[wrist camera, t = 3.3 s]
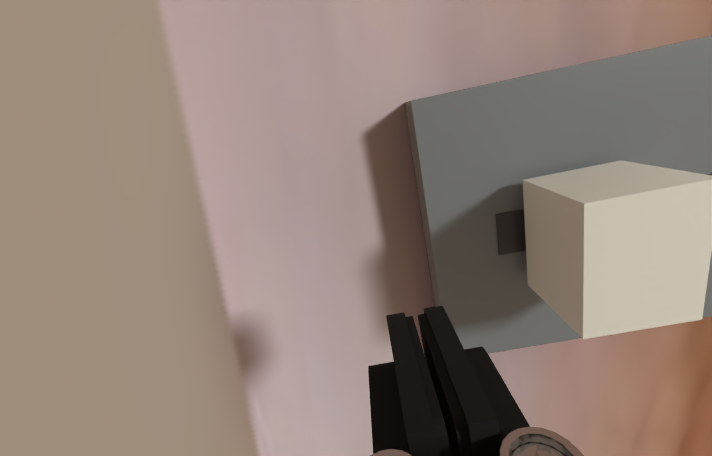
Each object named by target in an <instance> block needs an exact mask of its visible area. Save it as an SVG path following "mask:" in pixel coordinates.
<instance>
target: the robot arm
mask: <svg viewBox="0 0 712 456" xmlns="http://www.w3.org/2000/svg"><path fill="white" fill-rule="evenodd" d="M386 317H387V323H388V329H389V335H390V341H391V346H392V352H393V358H394V362H390V363H384V364H378V365H373V366H369V388H370V405H371V422H372V439H373V454H372V455H370V456H584V455H583V454H582V453H581V452H580V451H579V450H578V449H577V448H576V447H575V446H574V445H573V444H572V443H571V442H570V441H569V440H567V439H566V438H564V437H562V436H560V435H559V434H557V433H555V432H553V431H550V430H547V429H544V428H538V427H530V426H529V424H528V422H527V421H526V419H525V417H524V416H523V414H522V412H521V410H520V409H519V407H518V405H517V403H516V402H515V400H514V398H513V397H512V395H511V393H510V391H509V390H508V388H507V386H506V385H505V383H504V381H503V379H502V378H501V376H500V374H499V373H498V371H497V369H496V367H495V366H494V364H493V362H492V360H491V359H490V357H489V355H488V354H487V352H486V350H485V349H484V348H483V347H482V346H481V347H475V348H470V349H464V348H463V346H462V344H461V342H460V340H459V338H458V336H457V334H456V331H455V329H454V327H453V325H452V323H451V321H450V319H449V317H448V315H447V313H446V311H445V309H444V307H443V306H437V307H431V308H426V309H424V314H421V315H418V320H419V326H420V331H421V337H422V343H423V349H424V352H423V349H422V346H421V343H420V339H419V336H418V333H417V329H416V326H415V323H414V320H413V316H410V317H405V314H404V313H398V314H393V315H387V316H386ZM424 355H425V356H424Z"/></svg>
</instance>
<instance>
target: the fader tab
mask: <svg viewBox="0 0 712 456" xmlns="http://www.w3.org/2000/svg"><path fill="white" fill-rule="evenodd" d="M523 198H524V218H525V239H526V259H527V279H528V286H529V287H530V288H531V289H532V290H533V291H534V292H535V293H537V294H538V295H539V296H540V297H541V298H542V299H543V300H544V301H545V302H546V303H547V304H548V305H549V306H550V307H551V308H552V309H553V310H554V311H555V312H556V313H557V314H558V315H559V316H560V317H561V318H562V319H563V320H564V321H565V322H566V323H567V324H568V325H569V326H570V327H571V328H572V329H573V330H574V331H575V332H576V333H577V334H578V335H579V336H580V337H581V338H582V339H588V338H594V337H600V336H606V335H612V334H618V333H624V332H630V331H636V330H642V329H648V328H654V327H660V326H666V325H672V324H678V323H684V322H690V321H696V320H702V317H703V310H704V303H705V295H706V288H707V281H708V274H709V267H710V259H711V252H712V176H711V175H705V174H699V173H693V172H688V171H682V170H676V169H670V168H664V167H658V166H652V165H646V164H640V163H634V162H628V161H622V160H621V161H616V162H611V163H606V164H600V165H595V166H590V167H585V168H580V169H575V170H570V171H565V172H560V173H555V174H550V175H545V176H540V177H535V178H530V179H525V180H523Z"/></svg>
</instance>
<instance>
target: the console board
mask: <svg viewBox="0 0 712 456" xmlns="http://www.w3.org/2000/svg"><path fill="white" fill-rule="evenodd" d="M404 104H405V110H406V117H407V124H408V130H409V137H410V143H411V150H412V157H413V163H414V170H415V177H416V183H417V190H418V197H419V203H420V210H421V217H422V223H423V230H424V237H425V243H426V250H427V257H428V263H429V270H430V277H431V283H432V290H433V297H434V303H435V307H437V306H443V307H444V309H445V311H446V313H447V315H448V317H449V319H450V321H451V323H452V325H453V327H454V329H455V331H456V334H457V336H458V338H459V340H460V342H461V344H462V346H463V348H464V349H470V348H475V347H481V346H482V347H483V348H484V349H485V350H486V352H487V354H488V353H494V352H500V351H506V350H512V349H518V348H524V347H530V346H536V345H542V344H548V343H554V342H560V341H566V340H572V339H578V338H581V337H580V336H579V335H578V334H577V333H576V332H575V331H574V330H573V329H572V328H571V327H570V326H569V325H568V324H567V323H566V322H565V321H564V320H563V319H562V318H561V317H560V316H559V315H558V314H557V313H556V312H555V311H554V310H553V309H552V308H551V307H550V306H549V305H548V304H547V303H546V302H545V301H544V300H543V299H542V298H541V297H540V296H539V295H538V294H537V293H535V292H534V291H533V290H532V289H531V288H530V287H529V286H528V279H527V259H526V239H525V218H524V198H523V180H525V179H530V178H535V177H540V176H545V175H550V174H555V173H560V172H565V171H570V170H575V169H580V168H585V167H590V166H595V165H600V164H606V163H611V162H616V161H621V160H622V161H628V162H634V163H640V164H646V165H652V166H658V167H664V168H670V169H676V170H682V171H688V172H693V173H699V174H705V175H711V176H712V36H708V37H703V38H698V39H694V40H689V41H685V42H680V43H675V44H671V45H666V46H662V47H657V48H652V49H648V50H643V51H639V52H634V53H629V54H625V55H620V56H616V57H611V58H606V59H602V60H597V61H592V62H588V63H583V64H579V65H574V66H569V67H565V68H560V69H556V70H551V71H546V72H542V73H537V74H533V75H528V76H523V77H519V78H514V79H510V80H505V81H500V82H496V83H491V84H487V85H482V86H477V87H473V88H468V89H464V90H459V91H454V92H450V93H445V94H441V95H436V96H431V97H427V98H422V99H418V100H413V101H409V102H405V103H404ZM710 316H712V252H711V259H710V267H709V274H708V281H707V288H706V295H705V303H704V310H703V317H702V318H704V317H710Z"/></svg>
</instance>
